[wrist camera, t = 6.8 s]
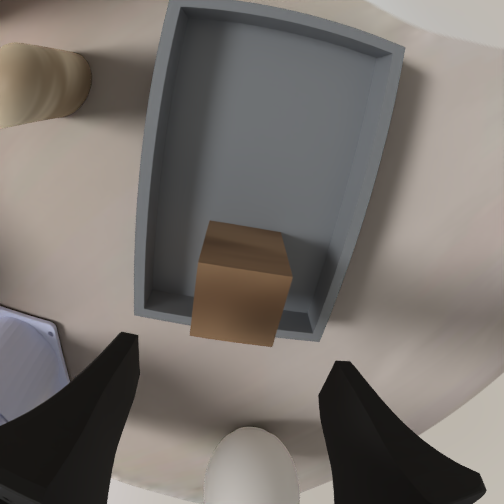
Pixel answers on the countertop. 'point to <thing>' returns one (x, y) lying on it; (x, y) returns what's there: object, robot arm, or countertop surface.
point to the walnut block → (240, 284)
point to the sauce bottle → (251, 470)
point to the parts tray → (259, 148)
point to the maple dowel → (40, 83)
